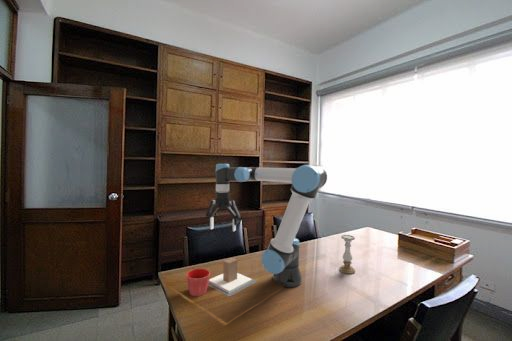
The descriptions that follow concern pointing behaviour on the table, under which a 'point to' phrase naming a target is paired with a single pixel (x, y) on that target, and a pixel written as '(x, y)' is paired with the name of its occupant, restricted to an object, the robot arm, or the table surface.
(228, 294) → the mat
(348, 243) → the candle holder
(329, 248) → the table surface
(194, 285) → the flower pot
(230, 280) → the lid
